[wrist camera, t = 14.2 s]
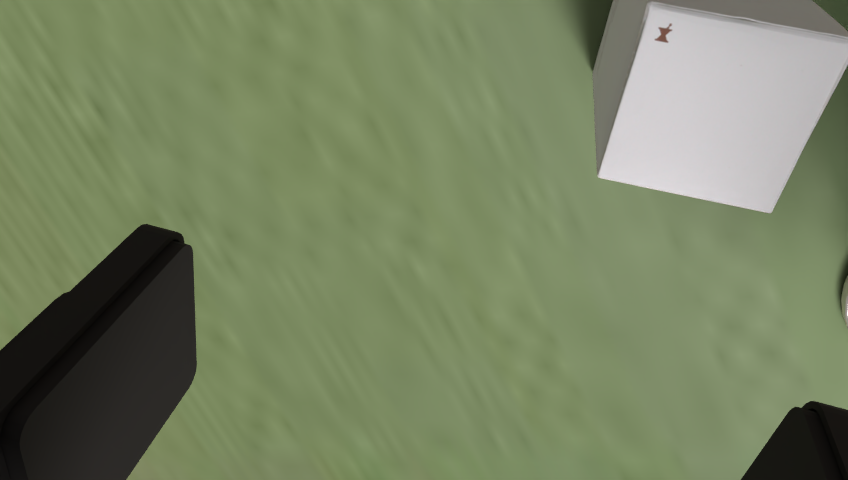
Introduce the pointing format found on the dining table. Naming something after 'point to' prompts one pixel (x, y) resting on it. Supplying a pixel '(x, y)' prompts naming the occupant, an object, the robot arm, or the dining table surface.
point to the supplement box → (713, 94)
